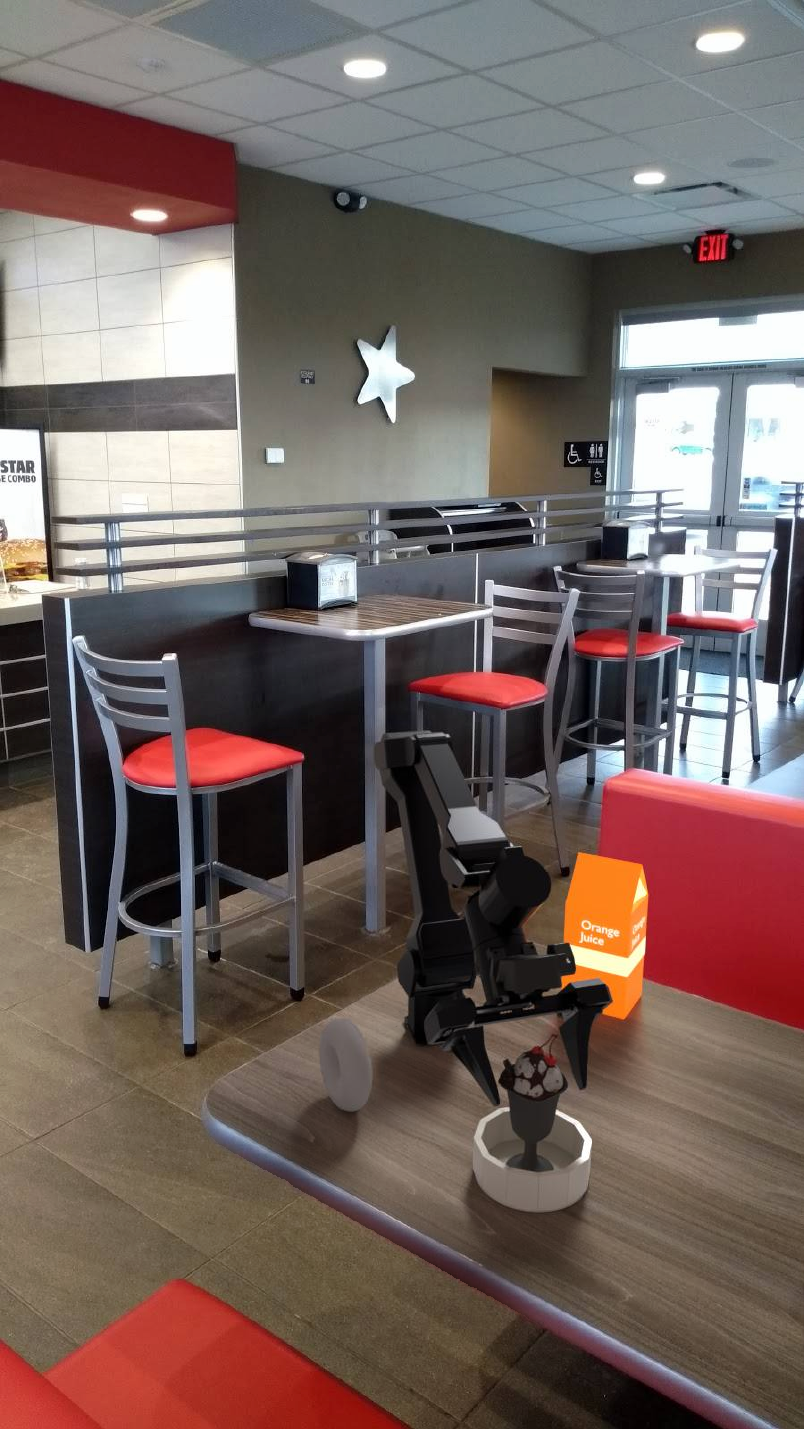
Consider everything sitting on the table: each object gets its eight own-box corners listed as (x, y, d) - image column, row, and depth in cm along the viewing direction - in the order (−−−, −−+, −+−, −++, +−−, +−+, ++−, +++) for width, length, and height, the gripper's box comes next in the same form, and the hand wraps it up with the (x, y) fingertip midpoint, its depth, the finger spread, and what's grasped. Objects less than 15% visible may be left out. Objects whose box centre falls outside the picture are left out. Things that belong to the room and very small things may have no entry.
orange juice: (624, 1020, 138) (633, 874, 133) (559, 1002, 142) (566, 861, 138) (642, 994, 145) (652, 855, 140) (580, 978, 149) (587, 842, 144)
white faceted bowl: (495, 1220, 101) (497, 1184, 101) (460, 1147, 112) (461, 1113, 111) (607, 1202, 104) (609, 1166, 103) (562, 1132, 115) (564, 1099, 114)
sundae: (576, 1171, 108) (584, 1036, 104) (533, 1201, 103) (540, 1061, 100) (526, 1140, 113) (532, 1010, 109) (483, 1168, 108) (487, 1033, 105)
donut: (377, 1125, 116) (377, 1041, 113) (347, 1133, 114) (347, 1048, 112) (342, 1077, 125) (342, 999, 122) (314, 1084, 123) (313, 1005, 121)
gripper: (435, 927, 103) (475, 1093, 95) (609, 905, 108) (659, 1060, 101) (408, 966, 112) (442, 1120, 104) (570, 944, 118) (614, 1088, 110)
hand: (540, 1097), depth 105 cm, fingers open, 9 cm apart
